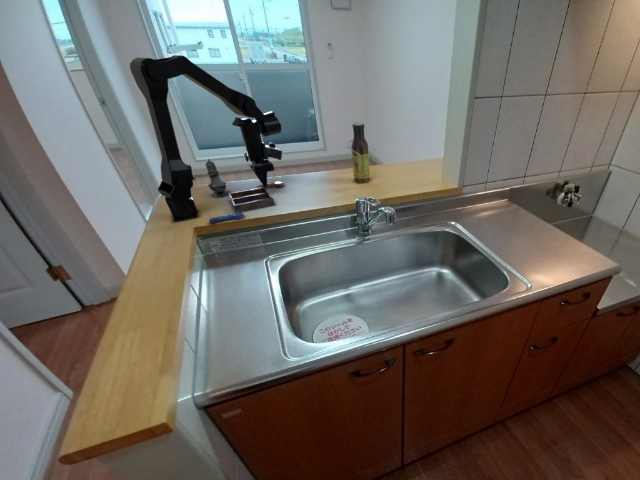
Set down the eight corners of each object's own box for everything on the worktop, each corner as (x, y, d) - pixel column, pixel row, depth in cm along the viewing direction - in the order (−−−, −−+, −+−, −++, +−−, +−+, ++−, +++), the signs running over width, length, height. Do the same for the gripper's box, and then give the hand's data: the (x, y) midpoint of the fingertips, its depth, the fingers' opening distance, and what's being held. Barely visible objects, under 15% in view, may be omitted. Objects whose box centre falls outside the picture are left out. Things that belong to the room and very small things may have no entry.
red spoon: (258, 191, 117) (257, 187, 116) (256, 188, 119) (255, 184, 118) (284, 186, 121) (283, 182, 120) (282, 184, 123) (281, 180, 122)
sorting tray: (236, 213, 103) (233, 205, 101) (230, 200, 111) (227, 193, 109) (274, 205, 108) (272, 198, 106) (266, 193, 116) (264, 186, 114)
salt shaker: (217, 198, 112) (203, 162, 105) (208, 194, 115) (194, 159, 108) (233, 193, 116) (221, 158, 108) (224, 189, 119) (212, 155, 111)
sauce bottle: (352, 178, 127) (347, 122, 115) (368, 177, 129) (364, 120, 116) (356, 184, 122) (350, 125, 110) (372, 182, 124) (368, 124, 111)
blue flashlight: (210, 225, 96) (208, 220, 95) (209, 221, 98) (207, 217, 97) (244, 218, 100) (242, 213, 99) (242, 214, 102) (241, 210, 101)
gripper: (284, 141, 106) (294, 189, 116) (270, 131, 118) (280, 174, 128) (248, 146, 101) (262, 195, 111) (238, 135, 114) (251, 179, 124)
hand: (265, 185), depth 119 cm, fingers closed on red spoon, 1 cm apart
